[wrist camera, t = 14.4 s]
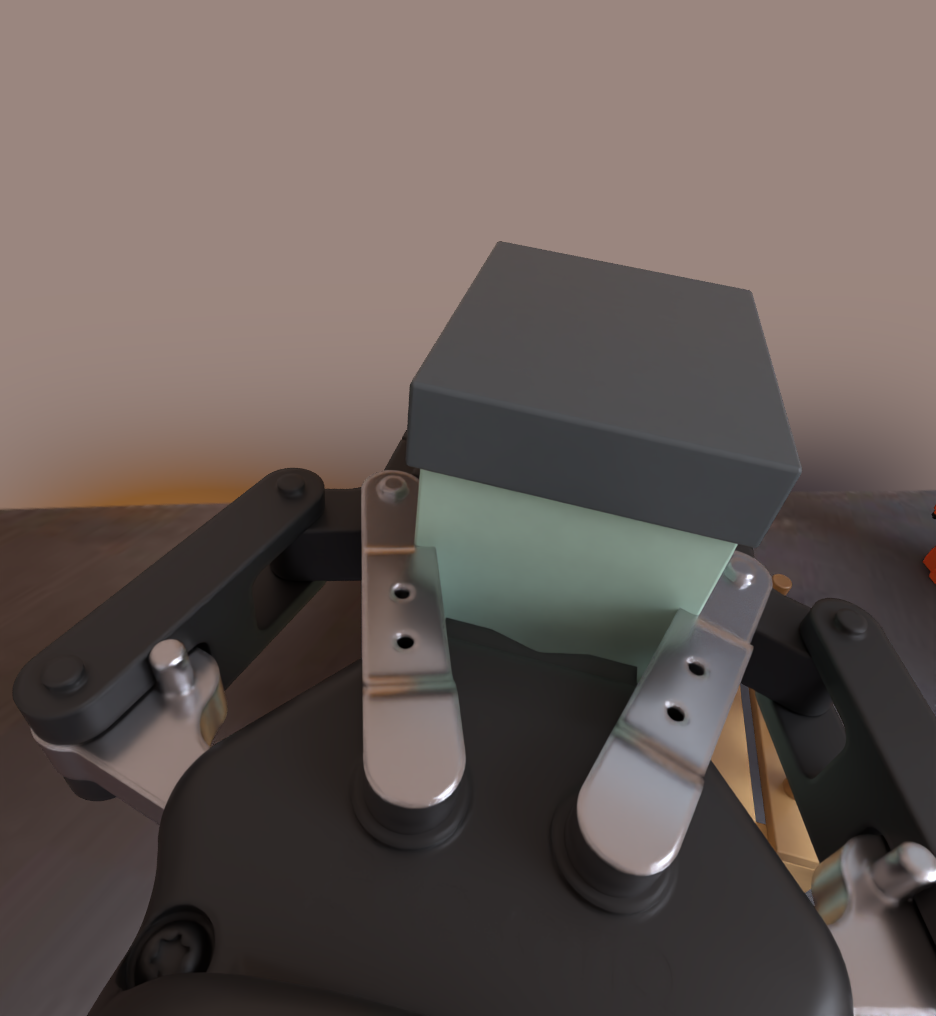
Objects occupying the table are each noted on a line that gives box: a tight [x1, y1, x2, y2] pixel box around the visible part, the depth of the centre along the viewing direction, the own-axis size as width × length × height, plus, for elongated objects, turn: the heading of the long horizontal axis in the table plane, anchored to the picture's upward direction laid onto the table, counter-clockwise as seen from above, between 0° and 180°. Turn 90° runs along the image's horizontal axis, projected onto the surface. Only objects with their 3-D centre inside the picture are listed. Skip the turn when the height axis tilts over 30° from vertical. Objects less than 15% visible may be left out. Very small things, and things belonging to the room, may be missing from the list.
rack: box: [711, 574, 819, 893], centre depth 29 cm, size 18×14×7 cm
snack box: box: [405, 241, 802, 683], centre depth 15 cm, size 5×6×11 cm
